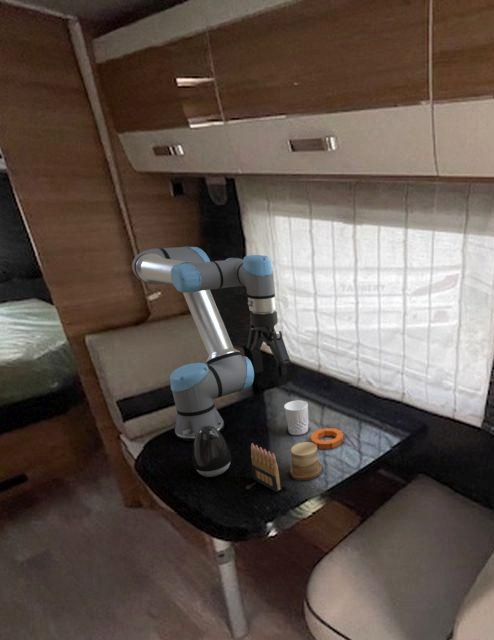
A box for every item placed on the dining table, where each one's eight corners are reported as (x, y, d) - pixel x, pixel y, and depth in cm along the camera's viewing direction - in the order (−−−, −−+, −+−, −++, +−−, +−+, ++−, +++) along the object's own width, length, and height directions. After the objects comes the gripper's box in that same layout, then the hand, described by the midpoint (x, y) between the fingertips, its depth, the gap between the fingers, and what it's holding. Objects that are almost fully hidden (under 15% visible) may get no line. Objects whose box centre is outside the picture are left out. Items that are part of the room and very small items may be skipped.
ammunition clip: (282, 488, 117) (277, 452, 112) (277, 492, 116) (272, 455, 111) (258, 475, 122) (252, 440, 118) (252, 478, 121) (247, 443, 116)
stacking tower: (284, 471, 125) (281, 448, 121) (310, 459, 131) (308, 437, 128) (301, 484, 119) (299, 460, 116) (328, 471, 125) (326, 448, 122)
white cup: (282, 432, 146) (279, 407, 142) (297, 423, 152) (295, 398, 148) (299, 438, 142) (296, 412, 138) (314, 428, 149) (312, 403, 145)
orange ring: (305, 440, 141) (304, 435, 140) (330, 430, 148) (330, 425, 147) (323, 452, 135) (323, 447, 134) (349, 440, 142) (348, 435, 141)
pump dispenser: (204, 486, 117) (194, 439, 111) (190, 471, 124) (179, 426, 118) (239, 471, 124) (232, 426, 118) (224, 458, 130) (216, 414, 125)
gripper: (229, 305, 126) (238, 369, 135) (275, 322, 111) (282, 393, 120) (252, 301, 131) (260, 364, 140) (299, 317, 117) (304, 386, 125)
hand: (270, 378), depth 130 cm, fingers open, 13 cm apart
